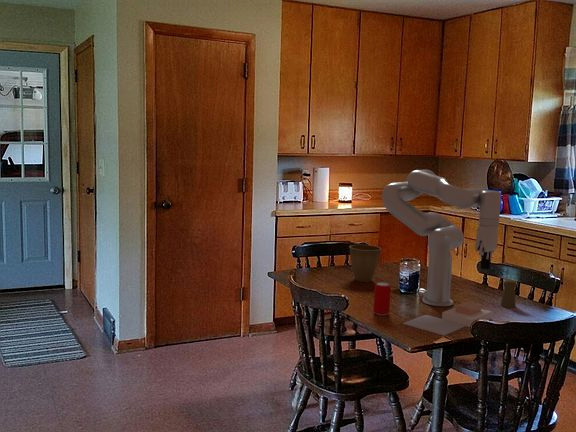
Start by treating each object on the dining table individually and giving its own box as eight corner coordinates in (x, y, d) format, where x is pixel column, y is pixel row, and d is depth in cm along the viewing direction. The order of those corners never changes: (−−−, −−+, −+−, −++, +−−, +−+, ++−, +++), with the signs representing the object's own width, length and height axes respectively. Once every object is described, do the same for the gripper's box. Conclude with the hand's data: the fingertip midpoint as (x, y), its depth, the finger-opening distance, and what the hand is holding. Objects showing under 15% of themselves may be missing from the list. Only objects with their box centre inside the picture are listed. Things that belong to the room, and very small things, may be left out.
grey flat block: (441, 319, 232) (442, 312, 232) (462, 311, 244) (462, 304, 243) (471, 327, 224) (471, 319, 223) (490, 319, 235) (491, 311, 235)
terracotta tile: (455, 311, 233) (455, 305, 233) (466, 307, 239) (467, 301, 239) (469, 315, 229) (470, 309, 228) (481, 310, 235) (481, 304, 235)
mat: (402, 324, 225) (402, 323, 225) (425, 315, 237) (425, 314, 237) (443, 335, 214) (444, 334, 214) (466, 326, 225) (466, 325, 225)
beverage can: (387, 311, 240) (389, 282, 238) (390, 316, 234) (392, 286, 232) (372, 311, 240) (373, 281, 238) (374, 316, 234) (376, 285, 232)
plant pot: (371, 286, 279) (373, 251, 277) (342, 280, 287) (344, 247, 285) (384, 279, 292) (386, 246, 289) (356, 274, 299) (357, 242, 297)
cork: (512, 309, 250) (514, 283, 248) (497, 305, 254) (500, 280, 252) (517, 306, 255) (520, 280, 253) (503, 303, 258) (505, 277, 257)
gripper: (488, 219, 245) (485, 264, 248) (470, 222, 234) (467, 269, 237) (506, 222, 240) (502, 267, 242) (489, 225, 229) (485, 273, 232)
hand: (485, 268), depth 240 cm, fingers closed
